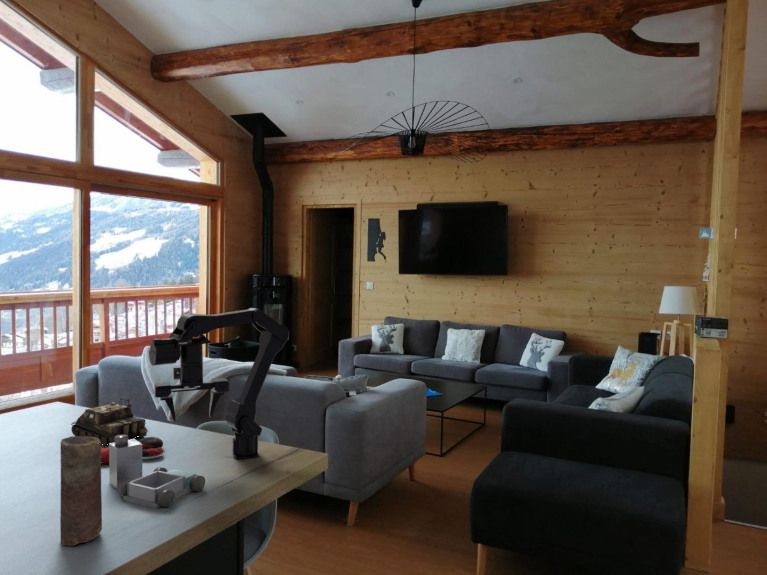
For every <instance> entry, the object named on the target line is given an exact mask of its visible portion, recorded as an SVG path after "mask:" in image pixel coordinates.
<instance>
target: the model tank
mask: <svg viewBox="0 0 767 575" xmlns="http://www.w3.org/2000/svg"><path fill="white" fill-rule="evenodd" d="M122 401H124V402H127V405H123V404H122V403H123V402H122ZM146 423H147V422H146V419H144V418H141V417H137V416H134V414H133V412H132V404H130V398H127V399H125V398H119V402H118V403H116V402H110V404H106V405H100V406H95V405H94V406H93V407H92V408H91V407H90V408H87V409H85V410H84V412H83V413H82V414H81V415H80V416H79V417H78V418H77V419H76V421H73V422H71V424H70V425H71V433H72V435H73V436H80V437H96V438H98V439H99V440H100V441H101V447H104V448H107V447H109V443H114V442H115V436H118V435H128V439H131V437H136V438H137V439H141V438H145V437H146V436H147V433H149V430H148V429H147V426H146ZM137 436H139V437H137ZM140 437H141V438H140ZM136 438H135V439H136ZM102 444H103V445H102ZM107 444H108V445H107Z"/></svg>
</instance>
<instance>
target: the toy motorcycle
mask: <svg viewBox="0 0 767 575" xmlns="http://www.w3.org/2000/svg"><path fill="white" fill-rule="evenodd" d="M137 441H138V442H140V443H141V444H142V458H143V457H144V458H147V457H148V458H151V457H156V456H159V455H161V454H162V453H164V449H163V446H164V442H163V440H162V439H161V438H159V437H155V436H147V437H146V436H145V437H141V438H139V439H138V440H137ZM101 464H104V465H105V464H108V465H109V446H108V447H104V448H101Z"/></svg>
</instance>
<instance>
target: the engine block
mask: <svg viewBox="0 0 767 575" xmlns="http://www.w3.org/2000/svg"><path fill="white" fill-rule="evenodd" d="M108 447H109V464H108V466H109V470H108V471H109V472H108V473H109V476H108V478H109V479H108V480H109V482H108V483H109V484H110V485H111V486H112V487H113V488H114V489H115V488H116V490H117V491H119V490H118V489H119V487H120V485H121V483H122V482H124V481H126V480H128V481H133V480H136V479H138V478H141V477H143V457H142V444H141V443H140V442H138V440H137V439H136V438H128V435H118V436H115V442H114V443H109V446H108Z"/></svg>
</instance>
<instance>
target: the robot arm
mask: <svg viewBox="0 0 767 575" xmlns="http://www.w3.org/2000/svg"><path fill="white" fill-rule="evenodd" d="M249 324H252V326H253V327H254V328H255V329H256V330H257V331H259V332H260V335H259V339H258V341H259V344H258V346H259V347H258V348H259V349H258V352H257V355H256V357H255V359H254V361H253V364H252V366H251V369H250V372H249V374H248V376H247V378H246V381H245V383H244V385H243V386H244V387H243V388H242V390H241V393H240V395H239V397H237V399H236V400H233V399H230V400H229V402H228V407H227V408H226V410H225V411H224V414H225V418H224V420H225V422H226V424H227V425H228V426H229V427H230V428H231V431H232V432H234V434H233V436H234V437H233V438H232V439H231V445H232V446H231V453H232V455H233V456H234V459H235V460H240V459H250V458H251V459H252V458H258V457H260V454H259V439H258V438H259V437H260V436H261V434H262V430H263V428H262V427H261V426H260V425H259V424H258V423H257V422H256V421H255V420H256V416H257V400H258V397H259V395H260V393H261V391H262V387H263V385H264V383H265V380H266V378H267V376H268V373H269V371H270V368H271V366H272V363H273V360H274V358H275V356H276V355H277V354H278V353H279V352H280V351H281V350H282V349H283V347H284V346H285V345H286V342H287V341H288V339H289V337H290V331H289V328H288V327H287V326H286V325H285V324H284V323H279V322H278V321H276V320H275V319H274V318H272V317H270V316H269V315H267V314H266V313H265V312H264V311H263V310H262V309H260V308H254V307H250V308H248V309H242V310H234V311H227V312H222V313H220V312H219V313H215V314H199V313H185V314H182V315H181V316H180V317H179V318H178V320H177V322H176V327H175V328H174V329H173V331H172V332H171V334H170V335H169V337H168V338H152V339H151V344H150V347H149V350H148V357H149V358H148V359H149V362H150V364H151V366H153V367H155V366H162V365H170V364H171V365H172V364H176V363H177V362H178V361H179V362H180V363H179V364H180V366H179V367H173V368H172V370H173V371H172V372H173V374H172V375H173V377H172V378H173V381H177V380H179V383H180V384H173V385H172V384H171V381H166V382H165V381H164V382H156V383H155V384H154V385H153V386H154V388H153V389H154V392H153V393H154V397H155V398H156V399H157V398H158V399H159V398H160V401H165V403H166V405H167V407H168V409H169V411H170V414H171V417H172V419H173V422H176V412H175V410H176V409H175V404H174V398H173V395H172V393H181V392H191V391H192V392H193V391H204V390H210V400H209V409H208V410H209V411H208V414H209V418H212V417H213V414H214V411H215V409H216V405H217V404H218V401H219V399H220V397H221V396H224V395H225V392H230V382H229V381H228V379H227V378H226V377H215V378H212V379H211V381H209V382H204V351H203V349H204V348H203V346H204V345H209V344H211V340H210V339H208V337H206V336H205V335H206V334H209V333H210V332H213V331H214V330H218V329H223V328H230V327H235V326H242V325H249Z"/></svg>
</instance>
